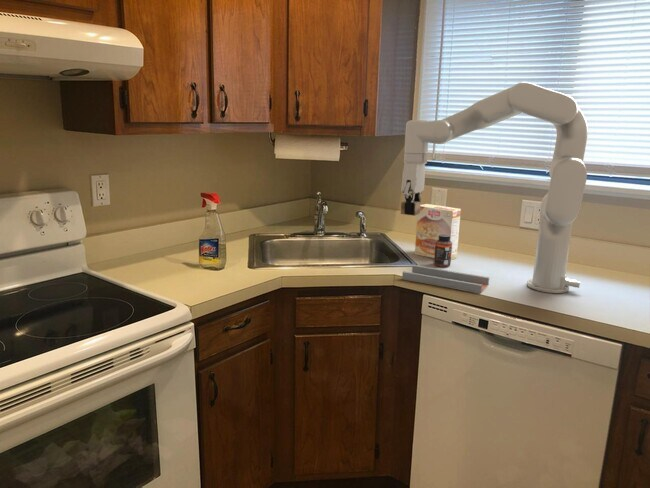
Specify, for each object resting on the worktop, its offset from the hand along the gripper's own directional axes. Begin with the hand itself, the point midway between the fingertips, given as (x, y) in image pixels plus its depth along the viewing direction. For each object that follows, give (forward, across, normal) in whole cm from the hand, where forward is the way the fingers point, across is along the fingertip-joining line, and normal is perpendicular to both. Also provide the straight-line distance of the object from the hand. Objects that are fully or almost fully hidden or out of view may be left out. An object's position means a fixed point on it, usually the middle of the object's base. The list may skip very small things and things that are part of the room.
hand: (412, 212), depth 182 cm
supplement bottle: (+22, -16, +7) cm, 28 cm away
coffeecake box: (+22, -27, +1) cm, 35 cm away
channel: (+21, +3, +14) cm, 26 cm away
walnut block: (+1, 0, -1) cm, 1 cm away
